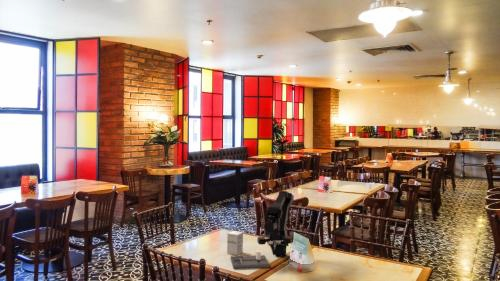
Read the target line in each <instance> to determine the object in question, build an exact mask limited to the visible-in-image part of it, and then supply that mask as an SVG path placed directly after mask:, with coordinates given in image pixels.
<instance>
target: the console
mask: <svg viewBox="0 0 500 281" xmlns="http://www.w3.org/2000/svg"><path fill="white" fill-rule="evenodd" d="M230 263H231V266H232V268H233V270H236V269H237V270H239V269H260V268H261V269H263V268H264V269H265V268H270V263H269V261H268V259H267V257H266V255H264V254H261V260H257V259H256V255H239V256H238V255H233V256H230Z"/></svg>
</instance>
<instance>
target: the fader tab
mask: <svg viewBox="0 0 500 281" xmlns="http://www.w3.org/2000/svg"><path fill="white" fill-rule="evenodd" d="M261 255H262V251H261V250H260V249H256V250H255V256H256V259H257V260H261Z"/></svg>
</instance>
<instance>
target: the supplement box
mask: <svg viewBox="0 0 500 281" xmlns="http://www.w3.org/2000/svg"><path fill="white" fill-rule="evenodd" d="M226 239H227V240H226V242H227V244H226V254H229V255H233V256H238V255H239V256H240V254H241V253H243V250H244V248H243V246H244V245H243V244H244V232H243V231H237V230H232V231H230V232H227V238H226Z"/></svg>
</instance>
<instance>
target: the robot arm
mask: <svg viewBox="0 0 500 281" xmlns="http://www.w3.org/2000/svg"><path fill="white" fill-rule="evenodd" d="M294 196H295V195H294V194H293V193H292V192H289V191H287V190H279V191H278V195H277V197H276V198H275V201H274V202H273V203H271V204H270V205H269V206H268V207H267V210H266V216H265V220H267V222H265V224H264V225H263V231H264V235H263V236H257V238H256V239H257V241H256V242H257V244H258V245H266V244H267V245H268V246H270V250H271V253H272V255H273V256H275V257H276V258H277V257H279V258H280V257H282V258H283V257H288V254H287V247H289V244H292V239H291V237H290V236H288V233H287V231H286V227H287V221H288V214H289V209H290V206H292V205H293V201H294V200H295V197H294ZM265 236H267V238H266V237H265Z"/></svg>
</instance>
